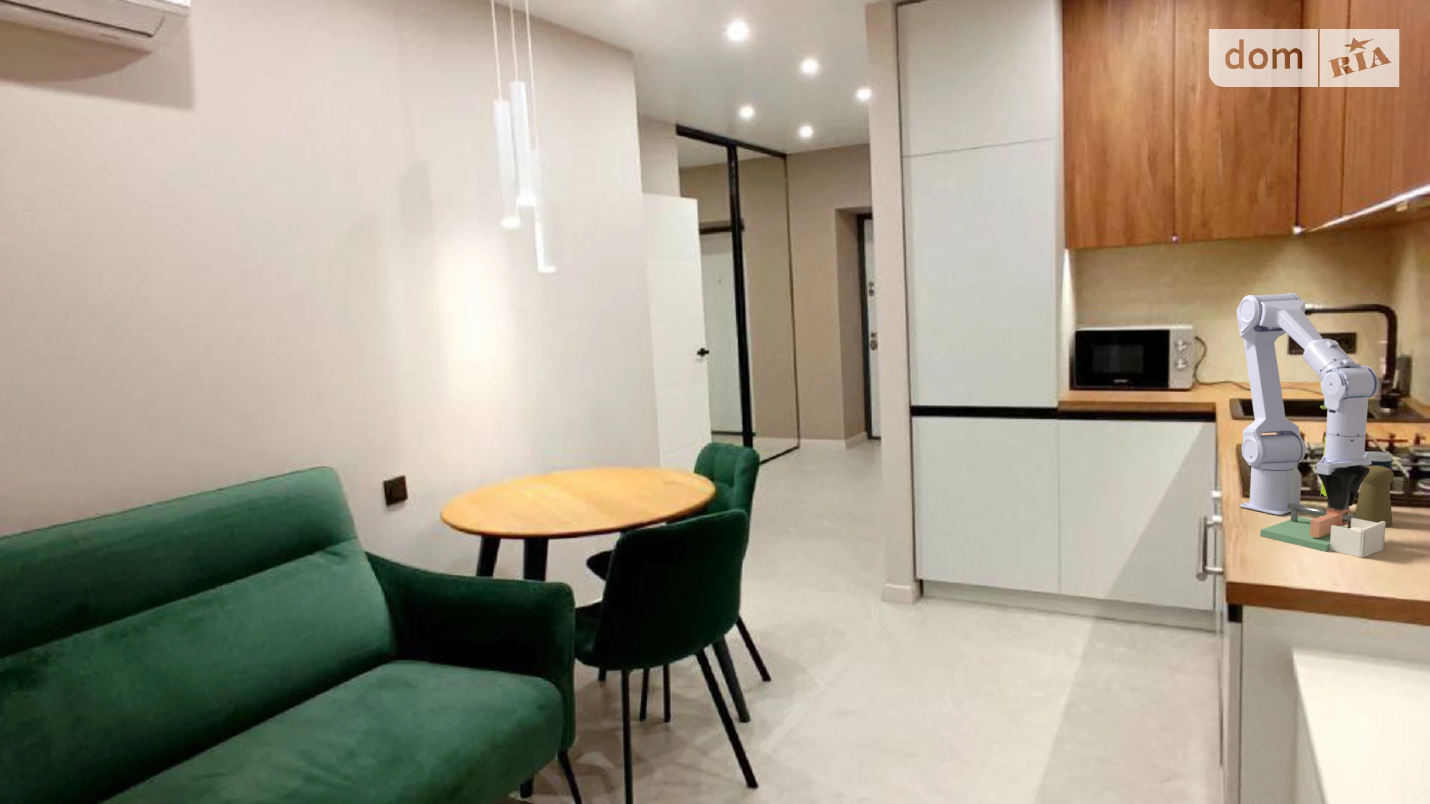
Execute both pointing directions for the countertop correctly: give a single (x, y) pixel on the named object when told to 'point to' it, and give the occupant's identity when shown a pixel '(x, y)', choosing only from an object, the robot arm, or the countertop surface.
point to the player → (1329, 520)
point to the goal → (1358, 538)
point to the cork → (1375, 496)
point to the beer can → (1379, 461)
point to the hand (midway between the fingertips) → (1340, 506)
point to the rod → (1313, 512)
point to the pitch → (1297, 534)
